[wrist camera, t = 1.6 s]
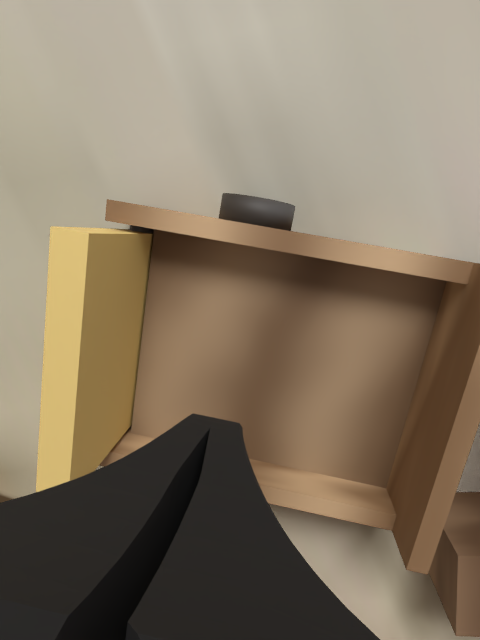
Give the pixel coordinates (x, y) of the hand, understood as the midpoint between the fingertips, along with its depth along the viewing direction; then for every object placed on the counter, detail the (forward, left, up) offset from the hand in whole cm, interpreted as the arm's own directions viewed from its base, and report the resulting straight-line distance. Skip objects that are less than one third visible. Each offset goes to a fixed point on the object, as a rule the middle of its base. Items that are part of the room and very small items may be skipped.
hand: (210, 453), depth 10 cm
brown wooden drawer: (-2, 0, -9) cm, 9 cm away
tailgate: (+5, 0, -8) cm, 10 cm away
